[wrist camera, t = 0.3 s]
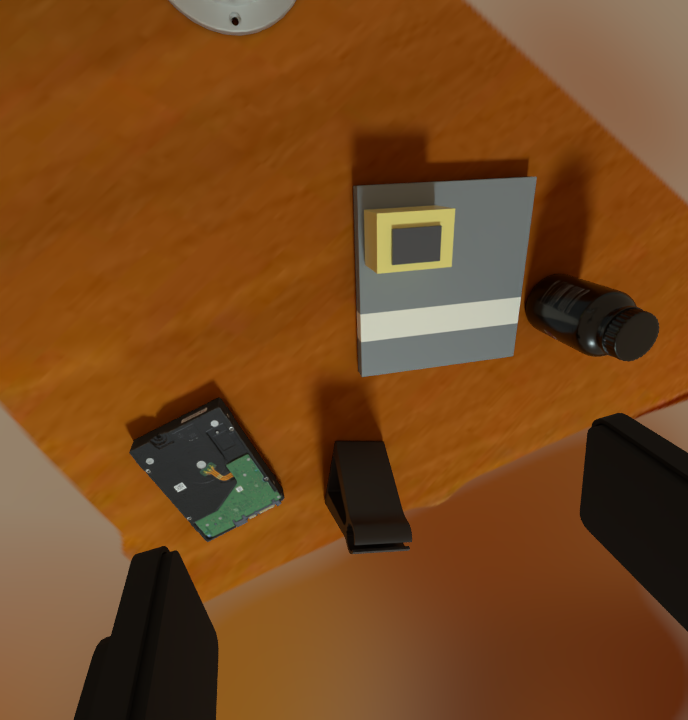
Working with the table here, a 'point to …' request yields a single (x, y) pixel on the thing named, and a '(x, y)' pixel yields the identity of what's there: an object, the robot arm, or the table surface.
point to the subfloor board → (446, 278)
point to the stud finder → (408, 238)
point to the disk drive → (208, 469)
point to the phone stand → (366, 498)
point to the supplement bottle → (591, 318)
